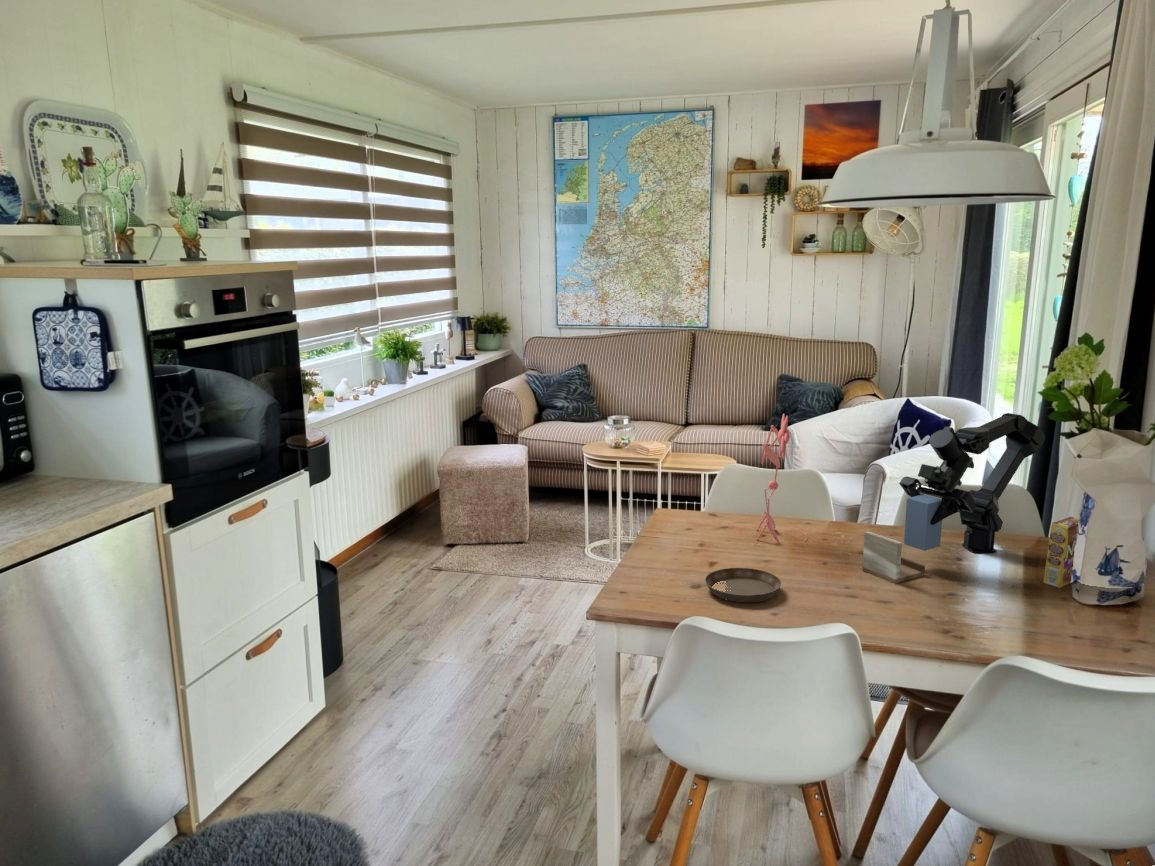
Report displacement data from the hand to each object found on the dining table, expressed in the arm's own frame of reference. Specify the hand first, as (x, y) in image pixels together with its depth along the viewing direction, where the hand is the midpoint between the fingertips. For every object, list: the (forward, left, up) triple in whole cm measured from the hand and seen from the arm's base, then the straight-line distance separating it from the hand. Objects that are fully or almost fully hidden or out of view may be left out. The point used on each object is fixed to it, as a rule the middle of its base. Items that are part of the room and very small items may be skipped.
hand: (920, 520), depth 208 cm
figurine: (+27, -27, -13) cm, 40 cm away
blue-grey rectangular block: (-1, -1, -7) cm, 7 cm away
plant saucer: (+47, +12, -13) cm, 50 cm away
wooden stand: (+7, +3, -12) cm, 14 cm away
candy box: (-30, +11, -13) cm, 35 cm away
